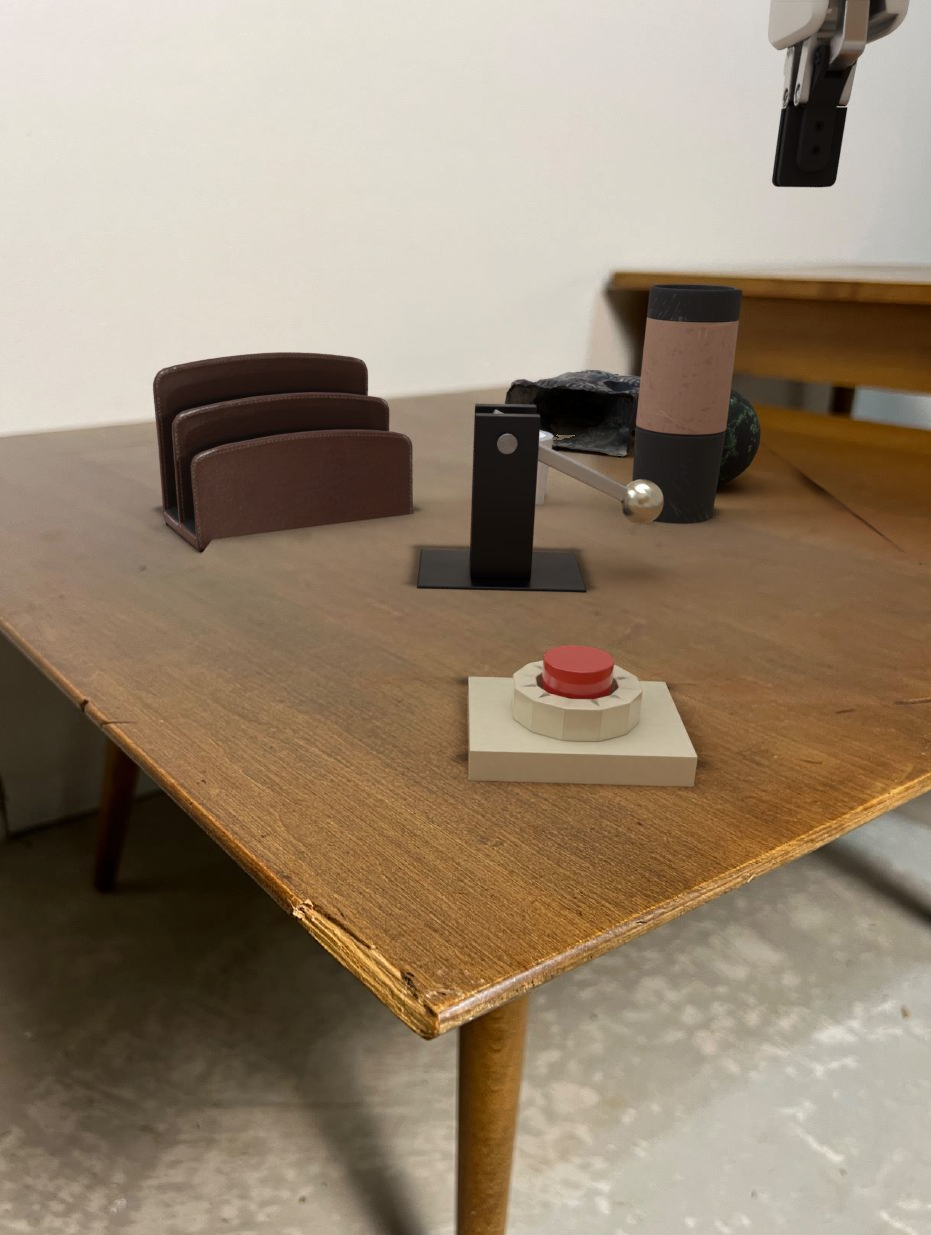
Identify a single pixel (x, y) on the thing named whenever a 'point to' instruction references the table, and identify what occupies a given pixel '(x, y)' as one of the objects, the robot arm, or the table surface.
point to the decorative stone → (739, 438)
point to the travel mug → (686, 395)
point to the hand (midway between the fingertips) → (802, 185)
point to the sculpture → (584, 408)
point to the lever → (610, 486)
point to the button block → (576, 733)
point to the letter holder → (275, 446)
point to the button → (577, 672)
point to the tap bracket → (502, 515)
